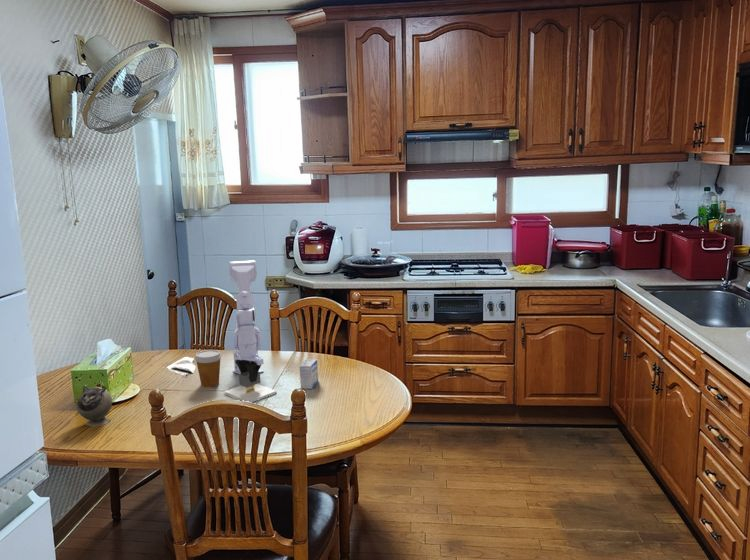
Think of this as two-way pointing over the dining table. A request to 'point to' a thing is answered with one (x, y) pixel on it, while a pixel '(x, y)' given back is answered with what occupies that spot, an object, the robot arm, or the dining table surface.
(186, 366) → the cloth
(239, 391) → the board
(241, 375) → the block
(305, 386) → the medicine box
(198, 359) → the disposable coffee cup
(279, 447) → the dining table surface
